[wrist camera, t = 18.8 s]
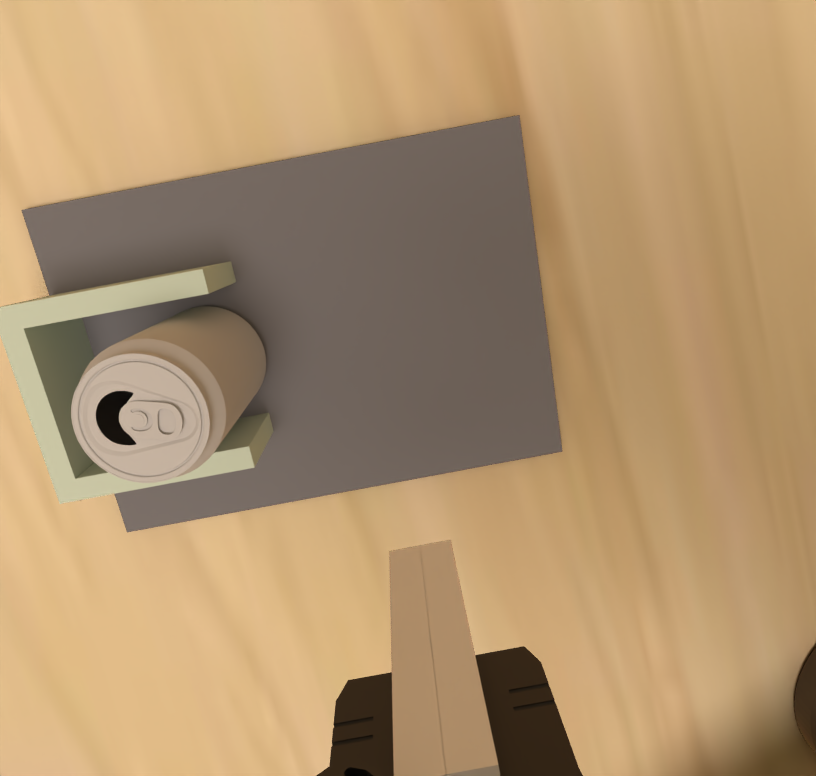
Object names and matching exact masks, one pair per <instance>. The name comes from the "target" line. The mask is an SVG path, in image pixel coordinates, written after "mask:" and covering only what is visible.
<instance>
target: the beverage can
mask: <svg viewBox="0 0 816 776" xmlns="http://www.w3.org/2000/svg"><path fill="white" fill-rule="evenodd" d="M265 372H266V355H265V350H264V347H263V344H262V342H261V340H260V338H259V336H258V334H257V333H256V331H255V330H254V329H253V328H252V326H251V325H250V324H249V323H248V322H246V321H245V320H244V319H243V318H241V317H240V316H238V315H237V314H235V313H233V312H231V311H229V310H226V309H223V308H218V307H212V306H201V307H195V308H191V309H188V310H185V311H183V312H181V313H179V314H176V315H174V316H172V317H170V318H168V319H166V320H164V321H162V322H160V323H158V324H156V325H154V326H151V327H149V328H147V329H145V330H143V331H141V332H139V333H137V334H135V335H133V336H131V337H129V338H126V339H124V340H122V341H120V342H118V343H116V344H114V345H112V346H110V347H108V348H106V349H105V350H103V351H102V352H101V353H99V354H98V355H97V356H96V357H95V358H94V359H93V360H92V361H91V362H90V363H89V365H88V366H87V368H86V369H85V371H84V373H83V375H82V377H81V379H80V381H79V384H78V386H77V388H76V390H75V392H74V395H73V399H72V405H71V419H72V425H73V429H74V432H75V435H76V438H77V440H78V442H79V443H80V445H81V447H82V448H83V450H84V451H85V453H86V454H87V455H88V456H89V457H90V459H91V460H92V461H94V462H95V463H96V464H97V465H98V466H99V467H101V468H102V469H104V470H105V471H107V472H108V473H110V474H112V475H114V476H116V477H119V478H121V479H124V480H128V481H132V482H139V483H155V482H161V481H165V480H169V479H172V478H175V477H179V476H182V475H185V474H187V473H189V472H191V471H193V470H195V469H197V468H198V467H200V466H201V465H202V464H203V463H205V462H206V461H207V460H208V459H209V458H210V457H211V456H212V454H213V453H214V452H215V450H216V449H217V448H218V446H219V445H220V443H221V442H222V441H223V439H224V438H225V436H226V435H227V434H228V432H229V431H230V429H231V428H232V427H233V425H234V424H235V423H236V421H237V420H238V418H239V417H240V416H241V414H242V413H243V411H244V410H245V409H246V407H247V406H248V404H249V403H250V402H251V400H252V399H253V397H254V396H255V395H256V393H257V392H258V390H259V389H260V387H261V385H262V383H263V380H264V376H265Z"/></svg>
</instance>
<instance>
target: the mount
mask: <svg viewBox="0 0 816 776" xmlns="http://www.w3.org/2000/svg"><path fill="white" fill-rule="evenodd" d="M22 213H23V216H24V219H25V222H26V225H27V228H28V231H29V234H30V237H31V240H32V244H33V247H34V250H35V253H36V256H37V259H38V262H39V265H40V268H41V271H42V274H43V277H44V280H45V283H46V286H47V289H48V292H49V295H50V296H46V297H42V298H37V299H33V300H29V301H24V302H20V303H15V304H11V305H6V306H2V307H0V336H1V339H2V342H3V345H4V347H5V350H6V353H7V356H8V359H9V361H10V364H11V367H12V370H13V373H14V376H15V378H16V381H17V384H18V387H19V390H20V393H21V395H22V398H23V401H24V404H25V407H26V410H27V412H28V415H29V418H30V421H31V424H32V427H33V429H34V432H35V435H36V438H37V441H38V443H39V446H40V449H41V452H42V455H43V458H44V460H45V463H46V466H47V469H48V472H49V475H50V477H51V480H52V483H53V486H54V489H55V492H56V494H57V497H58V500H59V503H60V504H62V503H67V502H72V501H78V500H83V499H89V498H94V497H99V496H105V495H110V494H115V497H116V500H117V503H118V506H119V509H120V512H121V515H122V518H123V521H124V524H125V527H126V530H127V532H131V531H137V530H142V529H148V528H153V527H158V526H164V525H169V524H174V523H180V522H185V521H191V520H196V519H201V518H207V517H212V516H218V515H223V514H228V513H234V512H239V511H245V510H250V509H255V508H261V507H266V506H271V505H277V504H282V503H288V502H293V501H298V500H304V499H309V498H315V497H320V496H325V495H331V494H336V493H341V492H347V491H352V490H358V489H363V488H368V487H374V486H379V485H385V484H390V483H395V482H401V481H406V480H412V479H417V478H422V477H428V476H433V475H438V474H444V473H449V472H455V471H460V470H465V469H471V468H476V467H482V466H487V465H492V464H498V463H503V462H508V461H514V460H519V459H525V458H530V457H535V456H541V455H546V454H552V453H557V452H562V445H561V437H560V429H559V421H558V413H557V405H556V398H555V390H554V382H553V374H552V366H551V358H550V351H549V343H548V335H547V327H546V319H545V312H544V304H543V296H542V288H541V280H540V272H539V265H538V257H537V249H536V241H535V233H534V225H533V218H532V210H531V202H530V194H529V186H528V179H527V171H526V163H525V155H524V147H523V139H522V132H521V124H520V116H519V115H518V116H512V117H507V118H502V119H497V120H491V121H486V122H481V123H476V124H470V125H465V126H460V127H455V128H449V129H444V130H439V131H434V132H428V133H423V134H418V135H413V136H407V137H402V138H397V139H392V140H387V141H381V142H376V143H371V144H366V145H360V146H355V147H350V148H345V149H339V150H334V151H329V152H324V153H318V154H313V155H308V156H303V157H297V158H292V159H287V160H282V161H276V162H271V163H266V164H261V165H255V166H250V167H245V168H240V169H234V170H229V171H224V172H219V173H213V174H208V175H203V176H198V177H192V178H187V179H182V180H177V181H172V182H166V183H161V184H156V185H151V186H145V187H140V188H135V189H130V190H124V191H119V192H114V193H109V194H103V195H98V196H93V197H88V198H82V199H77V200H72V201H67V202H61V203H56V204H51V205H46V206H40V207H35V208H30V209H25V210H22ZM201 306H212V307H218V308H223V309H226V310H229V311H231V312H233V313H235V314H237V315H238V316H240V317H241V318H243V319H244V320H245V321H246V322H248V323H249V324H250V325H251V326H252V328H253V329H254V330H255V331H256V333H257V334H258V336H259V338H260V340H261V342H262V344H263V347H264V350H265V355H266V372H265V376H264V380H263V383H262V385H261V387H260V389H259V390H258V392H257V393H256V395H255V396H254V397H253V399H252V400H251V402H250V403H249V404H248V406H247V407H246V409H245V410H244V411H243V413H242V414H241V416H240V417H239V418H238V420H237V421H236V423H235V424H234V425H233V427H232V428H231V429H230V431H229V432H228V434H227V435H226V436H225V438H224V439H223V441H222V442H221V443H220V445H219V446H218V448H217V449H216V450H215V452H214V453H213V454H212V456H211V457H210V458H209V459H208V460H207V461H206V462H205V463H203V464H202V465H201V466H200V467H198V468H197V469H195V470H193V471H191V472H189V473H187V474H185V475H182V476H179V477H175V478H172V479H169V480H165V481H161V482H155V483H139V482H132V481H128V480H124V479H121V478H119V477H116V476H114V475H112V474H110V473H108V472H107V471H105V470H104V469H102V468H101V467H99V466H98V465H97V464H96V463H95V462H94V461H92V460H91V459H90V457H89V456H88V455H87V454H86V453H85V451H84V450H83V448H82V447H81V445H80V443H79V442H78V440H77V438H76V435H75V432H74V429H73V425H72V419H71V405H72V399H73V395H74V392H75V390H76V388H77V386H78V384H79V381H80V379H81V377H82V375H83V373H84V371H85V369H86V368H87V366H88V365H89V363H90V362H91V361H92V360H93V359H94V358H95V357H96V356H97V355H98V354H99V353H101V352H102V351H103V350H105V349H106V348H108V347H110V346H112V345H114V344H116V343H118V342H120V341H122V340H124V339H126V338H129V337H131V336H133V335H135V334H137V333H139V332H141V331H143V330H145V329H147V328H149V327H151V326H154V325H156V324H158V323H160V322H162V321H164V320H166V319H168V318H170V317H172V316H174V315H176V314H179V313H181V312H183V311H185V310H188V309H191V308H195V307H201Z"/></svg>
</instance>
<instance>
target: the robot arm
mask: <svg viewBox="0 0 816 776" xmlns="http://www.w3.org/2000/svg"><path fill="white" fill-rule="evenodd" d="M389 560H390V610H391V661H392V672H391V673H386V674H380V675H375V676H369V677H364V678H358V679H353V680H348V681H347V683H346V685H345V687H344V688H343V690H342V692H341V694H340V695H339V697H338V699H337V700H336V706H335V716H334V728H333V737H332V747H331V757H330V767H328V768H327V769H325V770H324V771H322V772H321V773H320V774H318V775H317V776H583V775H582V773H581V771H580V769H579V767H578V765H577V762H576V759H575V756H574V753H573V751H572V748H571V745H570V742H569V739H568V737H567V734H566V731H565V728H564V725H563V723H562V720H561V717H560V714H559V712H558V709H557V706H556V704H555V701H554V698H553V695H552V692H551V689H550V687H549V684H548V681H547V678H546V675H545V672H544V670H543V667H542V664H541V662H540V661H539V660H538V659H537V658H536V657H535V656H534V655H533V654H532V653H531V652H530V651H528V650H527V649H526V648H525V647H524V646H523V647H518V648H512V649H507V650H501V651H496V652H490V653H485V654H480V655H475V652H474V648H473V643H472V638H471V634H470V629H469V624H468V619H467V615H466V610H465V605H464V601H463V596H462V591H461V586H460V582H459V577H458V572H457V568H456V563H455V558H454V554H453V549H452V544H451V540H447V541H441V542H436V543H430V544H425V545H420V546H414V547H409V548H403V549H398V550H393V551H389ZM794 707H795V716H796V720H797V724H798V727H799V730H800V732H801V734H802V736H803V737H804V739H805V741H806V742H807V743H808V745H809V746H810V747H811V748H812V750H813V751H814V752H815V753H816V648H815V649H814V650H813V652H812V653H811V655H810V656H809V658H808V659H807V661H806V663H805V665H804V667H803V669H802V671H801V674H800V676H799V679H798V683H797V686H796V692H795V703H794Z"/></svg>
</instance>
